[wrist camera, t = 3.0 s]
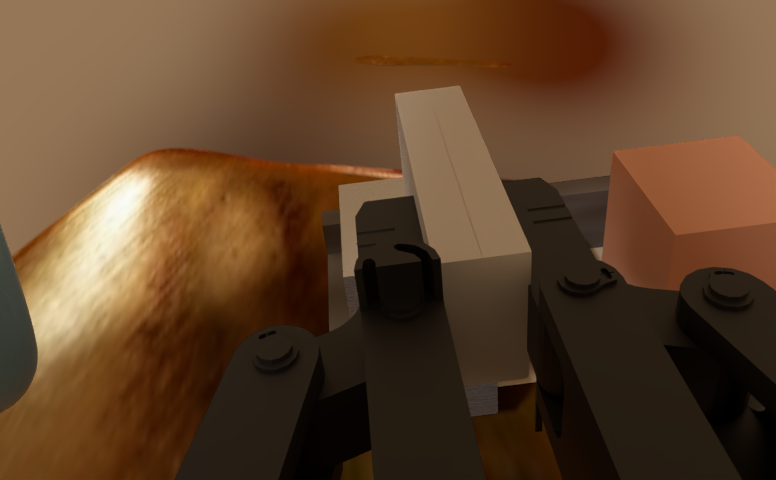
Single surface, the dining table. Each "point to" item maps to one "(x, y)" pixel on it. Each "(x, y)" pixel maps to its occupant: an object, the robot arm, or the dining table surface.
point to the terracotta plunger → (690, 212)
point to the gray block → (351, 200)
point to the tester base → (578, 195)
